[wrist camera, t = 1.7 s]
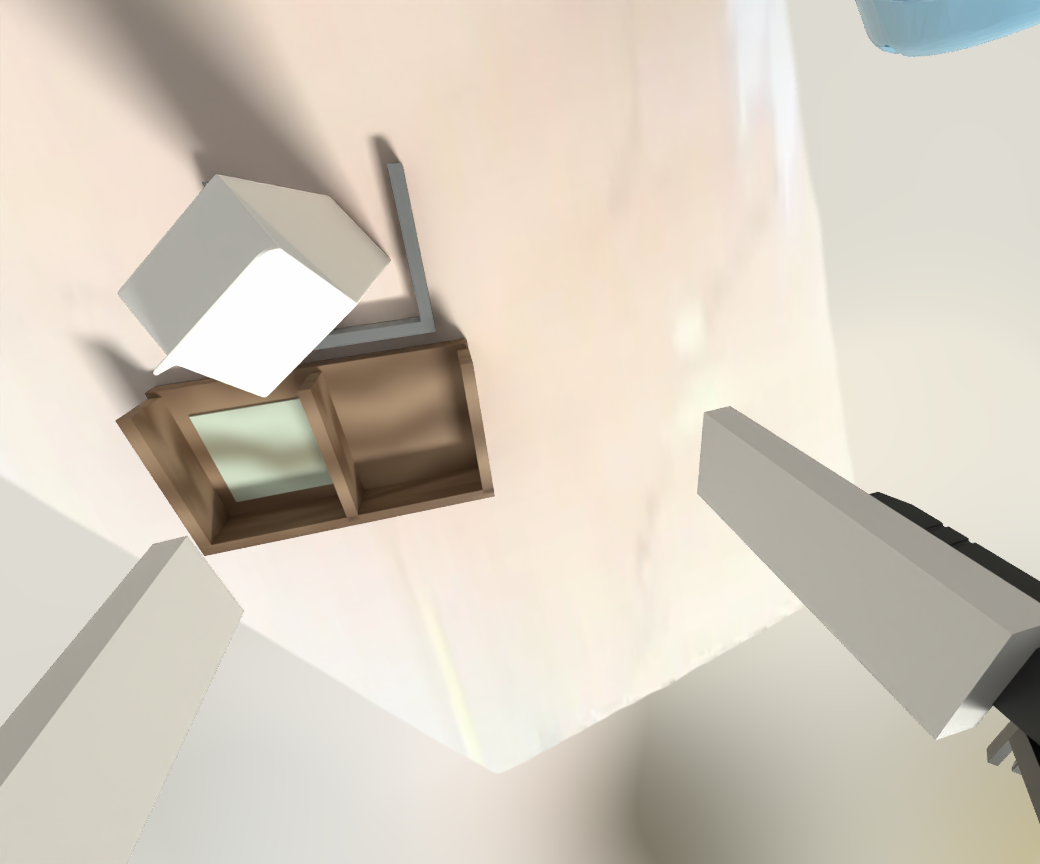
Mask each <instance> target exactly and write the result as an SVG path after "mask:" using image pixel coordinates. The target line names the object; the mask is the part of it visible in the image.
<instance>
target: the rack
mask: <svg viewBox="0 0 1040 864" xmlns="http://www.w3.org/2000/svg"><path fill="white" fill-rule="evenodd" d="M145 395H146V396H147V398H148V399H147V400H146V401H144V402H143V403H141V404H140V405H138V406H137V407H135V408H134V409H132V410H131V411H129V412H128V413H126V414H125V415H123V416H122V417H120V418H119V419H117V420H116V423H117V424H118V426H119V427H120V429H121V430H122V432H123V433H124V435H125V436H126V438H127V439H128V441H129V442H130V444H131V445H132V447H133V448H134V450H135V451H136V453H137V454H138V456H139V457H140V459H141V461H142V462H143V464H144V465H145V467H146V468H147V470H148V471H149V473H150V474H151V476H152V477H153V479H154V480H155V482H156V483H157V485H158V486H159V488H160V489H161V491H162V492H163V494H164V495H165V497H166V498H167V500H168V501H169V503H170V505H171V506H172V508H173V509H174V511H175V512H176V514H177V515H178V517H179V518H180V520H181V521H182V523H183V524H184V526H185V527H186V529H187V530H188V532H189V533H190V535H191V536H192V538H193V539H194V541H195V542H196V544H197V546H198V547H199V549H200V550H201V552H202V553H203V555H204V556H207V555H212V554H217V553H221V552H226V551H231V550H236V549H241V548H246V547H251V546H255V545H260V544H265V543H270V542H275V541H280V540H285V539H289V538H294V537H299V536H304V535H309V534H314V533H319V532H323V531H328V530H333V529H338V528H343V527H348V526H353V525H357V524H362V523H367V522H372V521H377V520H382V519H387V518H391V517H396V516H401V515H406V514H411V513H416V512H421V511H425V510H430V509H435V508H440V507H445V506H450V505H455V504H459V503H464V502H469V501H474V500H479V499H484V498H489V497H493V496H495V495H494V489H493V483H492V477H491V471H490V465H489V459H488V453H487V447H486V440H485V434H484V428H483V422H482V416H481V410H480V404H479V398H478V392H477V386H476V379H475V373H474V367H473V362H472V359H471V355H470V352H469V349H468V344H467V340H466V339H460V340H453V341H447V342H440V343H434V344H427V345H421V346H414V347H408V348H401V349H395V350H388V351H382V352H376V353H369V354H363V355H356V356H350V357H343V358H337V359H330V360H324V361H317V362H311V363H304V364H299V365H298V366H297V367H296V368H295V369H294V370H293V371H292V372H291V373H290V374H289V375H288V376H287V377H286V378H285V379H284V380H283V381H282V382H281V383H280V384H279V385H278V386H277V387H276V388H275V389H274V390H273V391H272V392H271V393H270V394H269V395H268V396H267V397H261V396H258V395H256V394H253V393H250V392H248V391H245V390H242V389H240V388H237V387H234V386H232V385H229V384H226V383H224V382H221V381H218V380H216V379H213V378H208V379H201V380H195V381H188V382H182V383H175V384H169V385H162V386H156V387H154V388H152V389H151V390H149V391H148V392H146V393H145Z"/></svg>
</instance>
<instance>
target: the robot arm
mask: <svg viewBox="0 0 1040 864" xmlns="http://www.w3.org/2000/svg"><path fill="white" fill-rule="evenodd" d="M855 1H856V4H857V7H858V9H859V12H860V15H861V18H862V21H863V24H864V27H865V29H866V32H867V35H868V37H869V39H870V40H871V41H872V43H874V45H875V46H877V47H878V48H879V49H881V50H883V51H886V52H890V53H895V54H900V53H901V54H902V55H904V56H910V57H911V56H912V57H915V56H930V55H937V54H942V53H948V52H953V51H957V50H961V49H966V48H969V47H973V46H977V45H980V44H983V43H987V42H989V41H993V40H995V39H999V38H1002V37H1005V36H1008V35H1010V34H1013V33H1016V32H1018V31H1021V30H1024V29H1027V28H1029V27H1032V26H1035V25H1037V24H1039V23H1040V0H855ZM697 494H698V495H699V496H700V497H701V498H702V499H703V500H704V501H705V502H706V503H707V504H708V505H709V506H710V507H711V508H712V509H713V510H714V511H715V512H716V513H717V514H718V515H719V516H720V517H721V519H722V520H723V521H724V522H725V523H726V524H727V525H728V526H729V527H730V528H731V529H732V530H733V531H734V532H735V533H736V534H737V535H738V536H739V537H740V538H741V539H742V540H743V541H744V542H745V543H746V544H747V545H748V547H749V548H750V549H751V550H752V551H753V552H754V553H755V554H756V555H757V556H758V557H759V558H760V559H761V560H762V561H763V562H764V563H765V564H766V565H767V566H768V567H769V568H770V569H771V570H772V571H773V572H774V573H775V575H776V576H777V577H778V578H779V579H780V580H781V581H782V582H783V583H784V584H785V585H786V586H787V587H788V588H789V589H790V590H791V591H792V592H793V593H794V594H795V595H796V596H797V597H798V598H799V599H800V600H801V601H802V603H803V604H804V605H805V606H806V607H807V608H808V609H809V610H810V611H811V612H812V613H813V614H814V615H815V616H816V617H817V618H818V619H819V620H820V621H821V622H822V623H823V624H824V625H825V626H826V627H827V628H828V629H829V631H830V632H831V633H832V634H833V635H834V636H835V637H836V638H837V639H838V640H839V641H840V642H841V643H842V644H843V645H844V646H845V647H846V648H847V649H848V650H849V651H850V652H851V653H852V654H853V655H854V656H855V657H856V658H857V660H859V662H860V663H861V664H862V665H863V666H864V667H865V668H866V669H867V670H868V671H869V672H870V673H871V674H872V675H873V676H874V677H875V678H876V679H877V680H878V681H879V682H880V683H881V684H882V685H883V687H884V688H885V689H886V690H887V691H889V693H890V694H891V695H892V696H893V697H894V698H895V699H896V700H897V701H898V702H899V703H900V704H901V705H902V706H903V707H904V708H905V709H906V710H907V711H908V712H909V713H910V714H911V716H912V717H913V718H914V719H915V720H916V721H917V722H918V723H919V724H920V725H921V726H922V727H923V728H924V729H925V730H926V731H927V732H928V733H929V734H930V735H931V736H932V737H933V738H934V739H935V740H937V739H940V738H943V737H946V736H949V735H952V734H955V733H958V732H960V731H963V730H966V729H969V728H972V727H975V726H977V725H978V724H979V722H980V721H981V720H982V719H983V717H984V716H985V715H986V714H987V712H988V711H989V710H990V709H991V707H992V706H995V707H996V708H997V709H998V710H999V711H1000V712H1002V713H1003V714H1004V715H1005V716H1006V717H1007V718H1008V719H1009V720H1011V721H1010V722H1009V723H1008V724H1007V725H1006V727H1005V728H1004V729H1003V730H1002V731H1001V732H1000V733H999V735H998V736H997V737H996V738H995V739H994V740H993V742H992V743H991V744H990V745H989V746H988V748H987V759H988V763H991V764H994V765H996V766H998V765H999V764H1000V763H1001V762H1002V761H1003V759H1005V758H1006V757H1007V756H1008V754H1009V753H1010V752H1011V751H1012V750H1013V753H1014V756H1015V758H1016V761H1015V762H1014V765H1013V767H1012V771H1013V772H1016V773H1018V774H1021V775H1022V777H1023V779H1024V782H1025V785H1026V788H1027V790H1028V793H1029V795H1030V798H1031V801H1032V803H1033V806H1034V809H1035V812H1036V815H1037V817H1038V820H1039V823H1040V581H1038V580H1037V579H1035V578H1033V577H1032V576H1030V575H1028V574H1027V573H1025V572H1023V571H1022V570H1020V569H1018V568H1017V567H1015V566H1013V565H1012V564H1010V563H1008V562H1006V561H1005V560H1003V559H1002V558H1000V557H999V556H997V555H995V554H994V553H992V552H990V551H989V550H987V549H985V548H984V547H982V546H980V545H979V544H977V543H970V542H969V540H968V538H967V537H965V536H964V535H962V534H960V533H958V532H957V531H955V530H953V529H952V528H950V527H944V526H943V523H942V522H940V521H939V520H937V519H935V518H934V517H932V516H930V515H928V514H927V513H925V512H923V511H922V510H920V509H918V508H917V507H915V506H914V505H912V504H909V503H906V502H904V501H901V500H898V499H896V498H893V497H890V496H888V495H885V494H883V493H880V492H876V493H872V494H868V493H866V492H865V491H863V490H861V489H860V488H858V487H857V486H855V485H854V484H852V483H850V482H849V481H847V480H846V479H844V478H843V477H841V476H839V475H838V474H836V473H835V472H833V471H832V470H830V469H828V468H827V467H825V466H824V465H822V464H821V463H819V462H817V461H816V460H814V459H813V458H811V457H810V456H808V455H806V454H805V453H803V452H802V451H800V450H799V449H797V448H795V447H794V446H792V445H791V444H789V443H788V442H786V441H784V440H783V439H781V438H780V437H778V436H776V435H775V434H773V433H772V432H770V431H769V430H767V429H765V428H764V427H762V426H761V425H759V424H758V423H756V422H754V421H753V420H751V419H750V418H748V417H747V416H745V415H743V414H742V413H740V412H739V411H737V410H736V409H734V408H732V407H731V406H729V407H725V408H720V409H716V410H712V411H708V412H704V418H703V430H702V442H701V454H700V466H699V478H698V490H697ZM243 612H244V610H243V609H242V607H241V606H240V605H239V604H238V602H237V601H236V600H235V598H234V597H233V596H232V594H231V593H230V592H229V590H228V589H227V588H226V586H225V585H224V584H223V582H222V581H221V580H220V578H219V577H218V576H217V574H216V573H215V572H214V570H213V569H212V568H211V566H210V565H209V564H208V562H207V561H206V560H205V558H204V557H203V556H202V554H201V553H200V552H199V550H198V549H197V548H196V546H195V545H194V544H193V542H192V541H191V540H190V538H189V537H188V536H185V537H180V538H176V539H172V540H168V541H164V542H160V543H155V544H153V545H152V546H151V547H150V548H149V550H148V551H147V552H146V553H145V554H144V556H143V557H142V558H141V559H140V560H139V562H138V563H137V564H136V565H135V566H134V568H133V569H132V570H131V571H130V572H129V574H128V575H127V576H126V577H125V578H124V580H123V581H122V582H121V583H120V584H119V586H118V587H117V588H116V590H114V592H113V593H112V594H111V595H110V596H109V598H108V599H107V600H106V601H105V603H104V604H103V605H102V606H101V607H100V608H99V610H98V611H97V612H96V613H95V614H94V616H93V617H92V618H91V619H90V621H89V622H88V623H87V624H86V625H85V627H84V628H83V629H82V630H81V631H80V633H79V634H78V635H77V636H76V637H75V639H74V640H73V641H72V642H71V643H70V645H69V646H68V647H67V648H66V649H65V651H64V652H63V653H62V654H61V655H60V657H59V658H58V659H57V660H56V662H55V663H54V664H53V665H52V666H51V667H50V669H49V670H48V671H47V672H46V674H45V675H44V676H43V677H42V678H41V679H40V681H39V682H38V683H37V684H36V685H35V687H34V688H33V689H32V690H31V692H30V693H29V694H28V695H27V696H26V698H25V699H24V700H23V701H22V702H21V704H20V705H19V706H18V707H17V708H16V710H15V711H14V712H13V713H12V714H11V716H10V717H9V718H8V719H7V720H6V722H5V723H4V724H3V725H2V726H1V728H0V864H128V862H129V859H130V857H131V855H132V853H133V851H134V848H135V846H136V844H137V842H138V840H139V837H140V836H141V833H142V831H143V829H144V827H145V825H146V823H147V820H148V818H149V816H150V813H151V812H152V809H153V807H154V805H155V803H156V801H157V799H158V797H159V794H160V792H161V790H162V788H163V786H164V783H165V781H166V779H167V777H168V775H169V773H170V771H171V768H172V766H173V764H174V762H175V760H176V758H177V755H178V753H179V751H180V749H181V747H182V744H183V742H184V740H185V738H186V736H187V734H188V732H189V729H190V727H191V725H192V723H193V721H194V719H195V716H196V714H197V712H198V710H199V708H200V706H201V703H202V701H203V699H204V697H205V695H206V692H207V690H208V688H209V686H210V684H211V682H212V679H213V677H214V675H215V673H216V671H217V669H218V667H219V664H220V662H221V660H222V658H223V655H224V653H225V651H226V649H227V647H228V645H229V643H230V640H231V638H232V636H233V634H234V632H235V630H236V628H237V625H238V623H239V621H240V619H241V617H242V615H243Z"/></svg>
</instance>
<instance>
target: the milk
mask: <svg viewBox="0 0 1040 864" xmlns="http://www.w3.org/2000/svg"><path fill="white" fill-rule="evenodd" d="M390 261H391V260H390V258H389V257H388V256H387V255H386V254H385V253H384V252H383V251H382V250H381V249H380V248H379V247H378V246H377V245H376V244H375V243H374V242H373V241H372V240H371V239H370V238H369V237H368V236H367V235H366V233H365V232H364V231H363V230H362V229H361V228H360V227H359V226H358V225H357V224H356V223H355V222H354V221H353V220H352V219H351V218H350V217H349V216H348V215H347V214H346V213H345V212H344V211H343V210H342V209H341V208H340V207H339V205H338V204H337V203H336V202H335V201H334V200H333V199H332V198H331V197H330V196H327V195H322V194H317V193H311V192H306V191H301V190H296V189H291V188H286V187H281V186H276V185H271V184H265V183H260V182H255V181H250V180H245V179H240V178H235V177H230V176H225V175H219V174H216V175H214V177H213V178H212V179H211V180H210V181H209V182H208V184H207V185H206V186H205V187H204V188H203V190H202V191H201V192H200V193H199V195H198V196H197V197H196V198H195V199H194V201H193V202H192V203H191V204H190V205H189V207H188V208H187V209H186V210H185V211H184V213H183V214H182V215H181V216H180V217H179V219H178V220H177V221H176V222H175V223H174V225H173V226H172V227H171V228H170V230H169V231H168V232H167V233H166V234H165V236H164V237H163V238H162V239H161V240H160V242H159V243H158V244H157V245H156V246H155V248H154V249H153V250H152V251H151V252H150V254H149V255H148V256H147V257H146V258H145V260H144V261H143V262H142V263H141V265H140V266H139V267H138V268H137V269H136V271H135V272H134V273H133V274H132V275H131V277H130V278H129V279H128V280H127V281H126V283H125V284H124V285H123V286H122V287H121V289H120V290H119V291H118V295H119V297H120V298H121V300H122V301H123V302H124V303H125V305H126V306H127V307H128V308H129V310H130V311H131V312H132V313H133V314H134V316H135V317H136V318H137V319H138V321H139V322H140V323H141V324H142V325H143V327H144V328H145V329H146V330H147V332H148V333H149V334H150V335H151V336H152V338H153V339H154V340H155V341H156V343H157V344H158V345H159V346H160V347H161V349H162V350H163V351H164V352H165V354H166V355H167V357H166V358H165V359H164V360H163V361H162V362H161V363H160V364H159V365H158V367H157V368H156V369H155V370H154V372H153V374H154V375H159V374H161V373H162V372H164V371H166V370H167V369H169V368H171V367H173V366H175V365H178V366H181V367H184V368H186V369H189V370H192V371H194V372H197V373H200V374H202V375H205V376H208V377H210V378H213V379H216V380H218V381H221V382H224V383H226V384H229V385H232V386H234V387H237V388H240V389H242V390H245V391H248V392H250V393H253V394H256V395H258V396H261V397H267V396H268V395H269V394H270V393H271V392H272V391H273V390H274V389H275V388H276V387H277V386H278V385H279V384H280V383H281V382H282V381H283V380H284V379H285V378H286V377H287V376H288V375H289V374H290V373H291V372H292V371H293V370H294V369H295V368H296V367H297V366H298V365H299V364H300V363H301V362H302V360H303V359H304V358H305V357H306V356H307V355H308V354H309V353H310V352H311V351H312V350H313V349H314V348H315V347H316V346H317V345H318V344H319V343H320V342H321V341H322V340H323V339H324V338H325V337H326V336H327V335H328V334H329V333H330V332H331V331H332V330H333V329H334V328H335V327H336V326H337V325H338V324H339V323H340V322H341V321H342V320H343V319H344V318H345V317H346V316H347V314H348V313H349V312H350V311H351V310H352V309H353V308H354V307H355V306H356V305H357V304H358V303H359V301H360V300H361V299H362V297H363V296H364V295H365V294H366V292H367V291H368V290H369V288H370V287H371V286H372V285H373V283H374V282H375V281H376V279H377V278H378V277H379V276H380V274H381V273H382V272H383V270H384V269H385V268H386V267H387V265H388V264H389V263H390Z"/></svg>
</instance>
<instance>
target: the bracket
mask: <svg viewBox="0 0 1040 864" xmlns="http://www.w3.org/2000/svg"><path fill="white" fill-rule="evenodd" d="M387 167H388V172H389V176H390V181H391V185H392V190H393V195H394V199H395V204H396V208H397V213H398V218H399V222H400V227H401V231H402V236H403V241H404V245H405V250H406V254H407V259H408V264H409V268H410V273H411V277H412V282H413V287H414V291H415V296H416V300H417V305H418V310H419V314H420V317H415V318H408V319H401V320H394V321H387V322H381V323H374V324H367V325H360V326H353V327H346V328H339V329H333V330H332V331H331V332H330V333H329V334H328V335H327V336H326V337H325V338H324V339H323V340H322V341H321V342H320V343H319V344H318V345H317V346H316V347H315V348H314V349H313V350H319V349H325V348H332V347H339V346H345V345H352V344H359V343H365V342H372V341H378V340H385V339H392V338H398V337H405V336H411V335H418V334H425V333H431V332H436V330H435V323H434V318H433V313H432V308H431V303H430V298H429V293H428V288H427V283H426V278H425V273H424V268H423V263H422V258H421V253H420V248H419V243H418V238H417V234H416V229H415V224H414V219H413V214H412V209H411V204H410V199H409V194H408V189H407V184H406V179H405V174H404V169H403V165H402V163H392V164H387ZM208 182H209V181H208ZM208 182H202V183H203V185H204V187H205V186H206V185H207V184H208Z"/></svg>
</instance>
